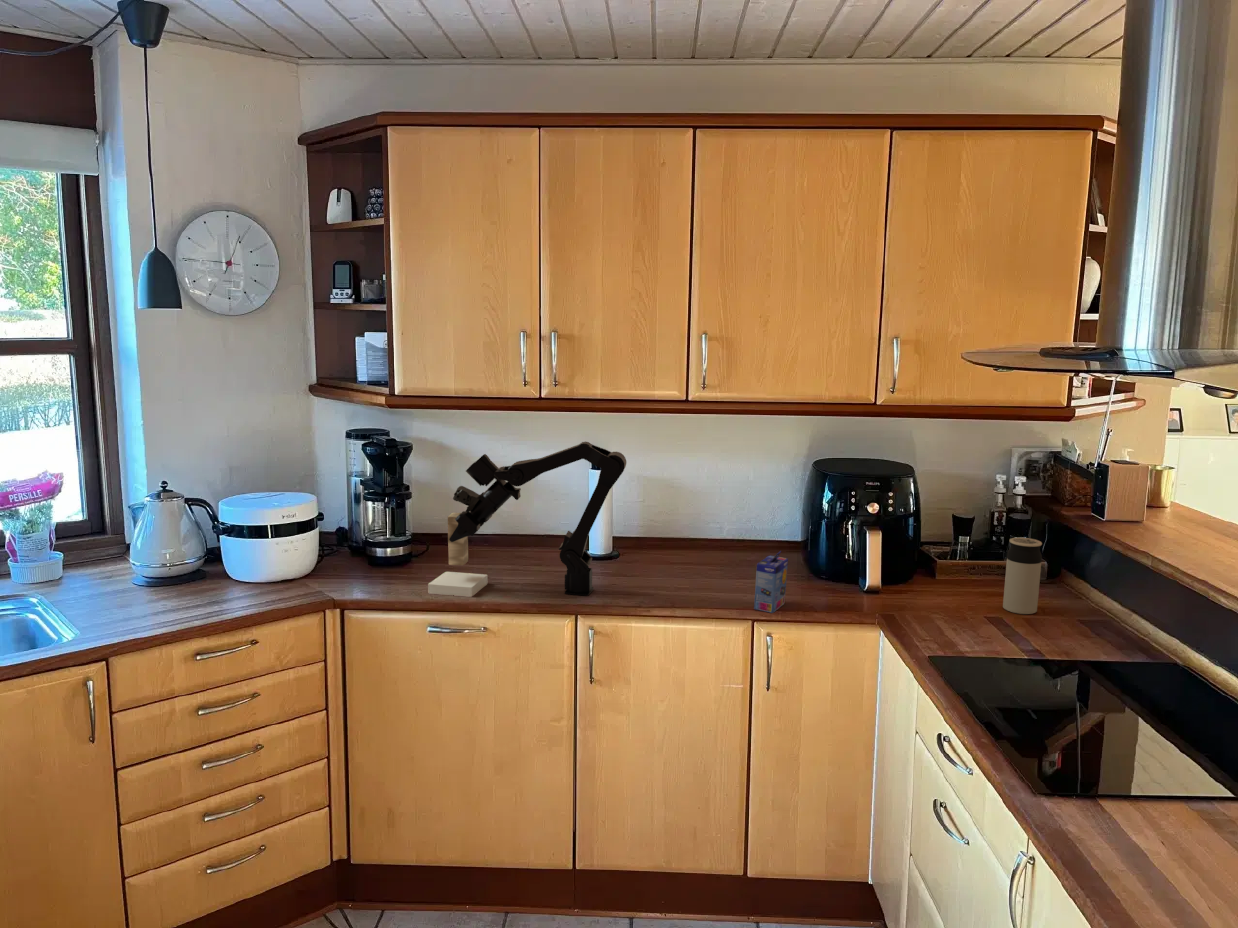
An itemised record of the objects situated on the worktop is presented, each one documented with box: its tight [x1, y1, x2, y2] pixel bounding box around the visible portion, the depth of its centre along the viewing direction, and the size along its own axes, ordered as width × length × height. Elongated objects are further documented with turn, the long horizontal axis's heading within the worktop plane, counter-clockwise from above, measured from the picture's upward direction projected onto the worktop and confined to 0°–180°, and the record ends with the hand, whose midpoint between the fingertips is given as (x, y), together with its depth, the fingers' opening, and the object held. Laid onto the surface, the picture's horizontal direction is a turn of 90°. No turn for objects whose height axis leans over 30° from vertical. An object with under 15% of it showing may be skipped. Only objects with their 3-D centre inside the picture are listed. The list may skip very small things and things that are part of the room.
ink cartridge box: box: [753, 550, 789, 614], centre depth 232 cm, size 10×6×14 cm, turn 152°
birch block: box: [447, 512, 469, 566], centre depth 244 cm, size 4×5×13 cm
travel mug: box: [1002, 537, 1043, 615], centre depth 231 cm, size 8×8×18 cm
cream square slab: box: [427, 571, 489, 598], centre depth 245 cm, size 12×12×3 cm
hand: (453, 538), depth 244 cm, fingers closed on birch block, 5 cm apart
